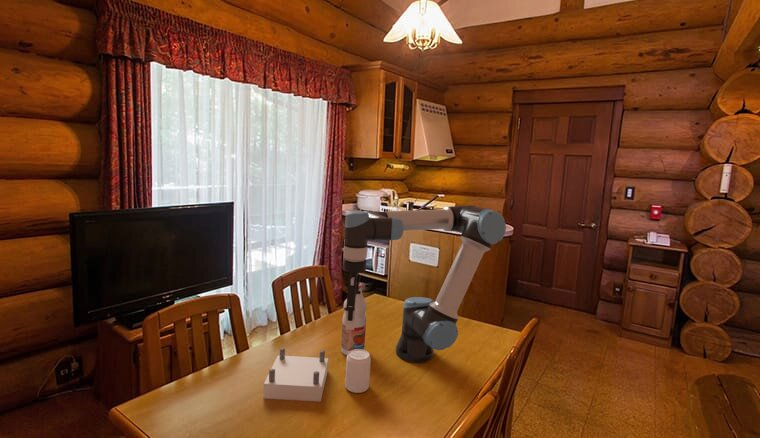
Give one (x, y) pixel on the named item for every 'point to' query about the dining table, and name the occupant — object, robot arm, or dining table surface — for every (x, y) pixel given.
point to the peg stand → (296, 378)
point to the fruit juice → (355, 327)
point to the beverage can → (357, 370)
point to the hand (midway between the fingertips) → (351, 320)
